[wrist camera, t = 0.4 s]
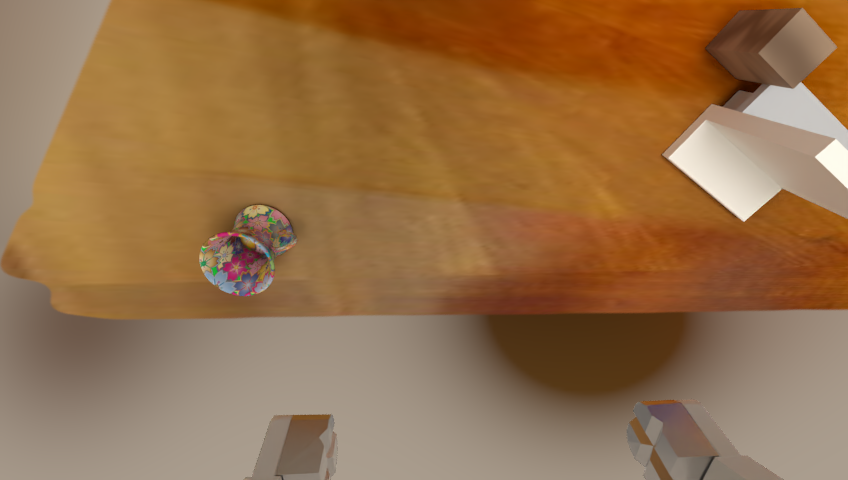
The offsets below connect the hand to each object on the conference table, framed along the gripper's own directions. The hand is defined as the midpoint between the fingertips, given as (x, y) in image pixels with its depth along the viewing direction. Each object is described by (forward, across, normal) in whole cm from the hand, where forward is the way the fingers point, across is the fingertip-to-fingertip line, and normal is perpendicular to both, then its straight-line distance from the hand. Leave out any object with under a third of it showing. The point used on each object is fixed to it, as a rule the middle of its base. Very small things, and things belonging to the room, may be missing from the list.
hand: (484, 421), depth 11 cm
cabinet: (+46, -38, -6) cm, 59 cm away
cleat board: (+45, -43, +6) cm, 62 cm away
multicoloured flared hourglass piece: (+48, +22, +18) cm, 56 cm away
